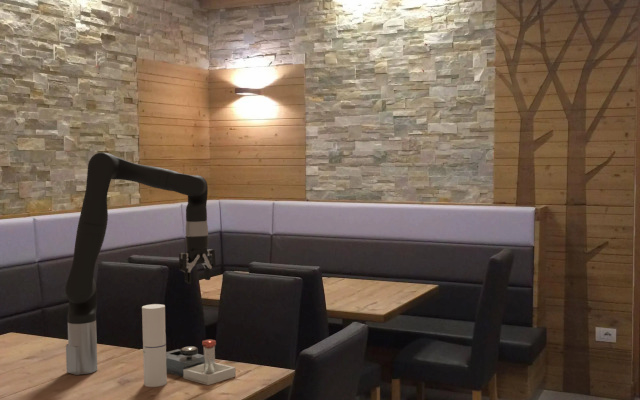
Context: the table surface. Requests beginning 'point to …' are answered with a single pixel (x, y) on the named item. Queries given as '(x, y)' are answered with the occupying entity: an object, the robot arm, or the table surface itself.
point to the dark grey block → (182, 360)
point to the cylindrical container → (154, 345)
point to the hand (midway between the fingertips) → (197, 281)
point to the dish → (198, 374)
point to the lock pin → (209, 356)
